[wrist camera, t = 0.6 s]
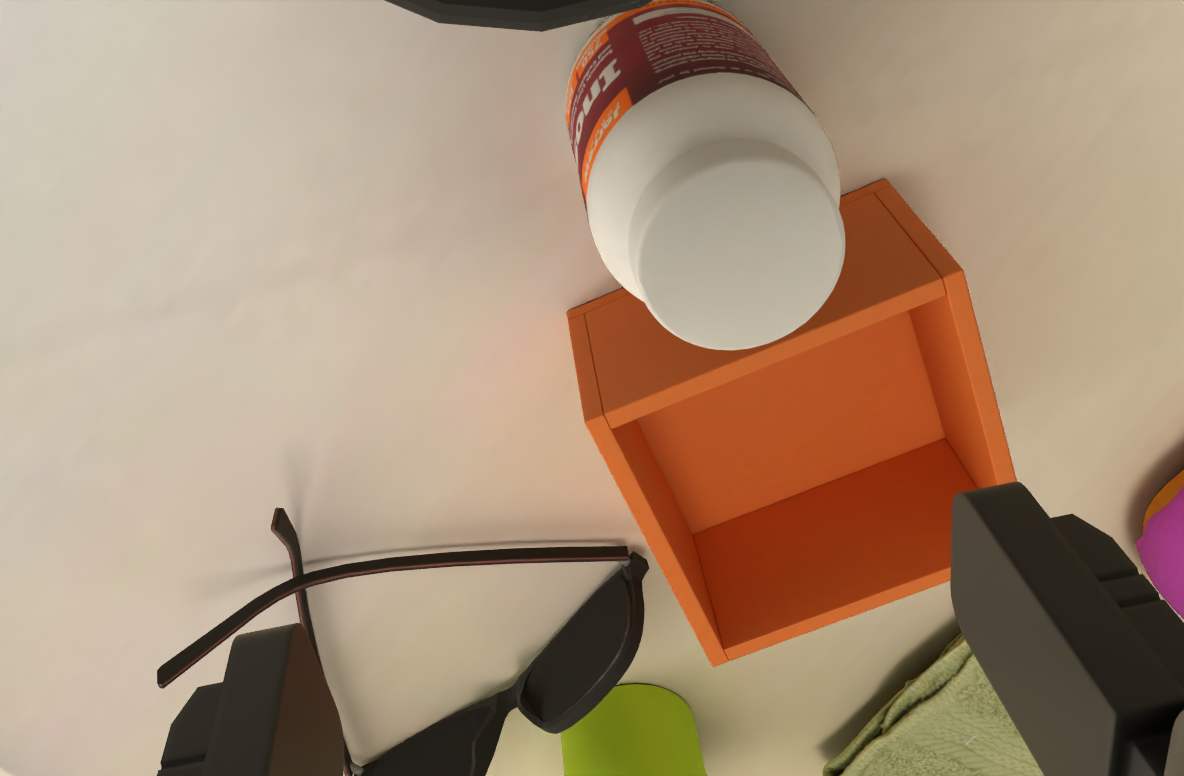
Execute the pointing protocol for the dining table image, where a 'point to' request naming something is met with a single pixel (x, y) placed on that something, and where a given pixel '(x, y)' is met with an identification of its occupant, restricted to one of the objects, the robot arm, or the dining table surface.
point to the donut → (1166, 542)
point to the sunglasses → (542, 692)
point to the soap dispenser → (634, 736)
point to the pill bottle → (704, 175)
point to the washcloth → (940, 728)
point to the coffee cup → (517, 11)
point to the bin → (802, 438)
